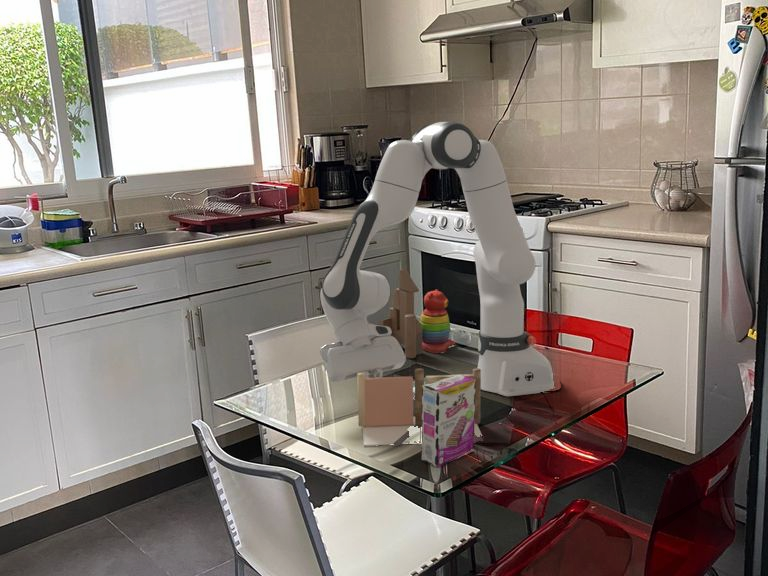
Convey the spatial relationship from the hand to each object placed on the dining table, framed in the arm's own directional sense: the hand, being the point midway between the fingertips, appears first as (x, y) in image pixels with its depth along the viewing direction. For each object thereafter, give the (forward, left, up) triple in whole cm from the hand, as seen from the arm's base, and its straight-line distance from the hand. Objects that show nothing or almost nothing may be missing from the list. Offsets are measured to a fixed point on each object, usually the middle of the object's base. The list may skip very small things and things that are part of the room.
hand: (377, 389), depth 179 cm
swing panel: (-1, +7, -6) cm, 9 cm away
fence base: (-16, +7, -7) cm, 18 cm away
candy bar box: (-13, +23, -7) cm, 28 cm away
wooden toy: (-9, -51, -7) cm, 53 cm away
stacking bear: (-20, -54, -7) cm, 58 cm away
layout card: (-9, +9, -7) cm, 15 cm away
